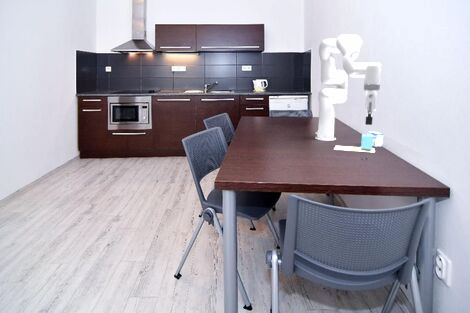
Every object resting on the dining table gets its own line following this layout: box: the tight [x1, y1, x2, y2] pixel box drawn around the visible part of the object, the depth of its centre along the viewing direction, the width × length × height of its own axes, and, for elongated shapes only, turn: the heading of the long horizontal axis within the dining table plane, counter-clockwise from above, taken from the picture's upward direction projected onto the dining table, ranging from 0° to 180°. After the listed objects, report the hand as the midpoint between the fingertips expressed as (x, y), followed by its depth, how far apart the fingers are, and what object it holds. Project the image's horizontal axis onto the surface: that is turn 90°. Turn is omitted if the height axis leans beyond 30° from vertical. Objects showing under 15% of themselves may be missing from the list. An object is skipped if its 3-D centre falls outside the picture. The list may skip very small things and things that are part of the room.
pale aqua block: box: [360, 134, 373, 149], centre depth 196 cm, size 5×5×7 cm
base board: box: [333, 145, 376, 153], centre depth 199 cm, size 20×12×2 cm, turn 71°
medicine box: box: [366, 131, 384, 148], centre depth 209 cm, size 8×4×9 cm, turn 21°
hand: (368, 124), depth 194 cm, fingers closed
